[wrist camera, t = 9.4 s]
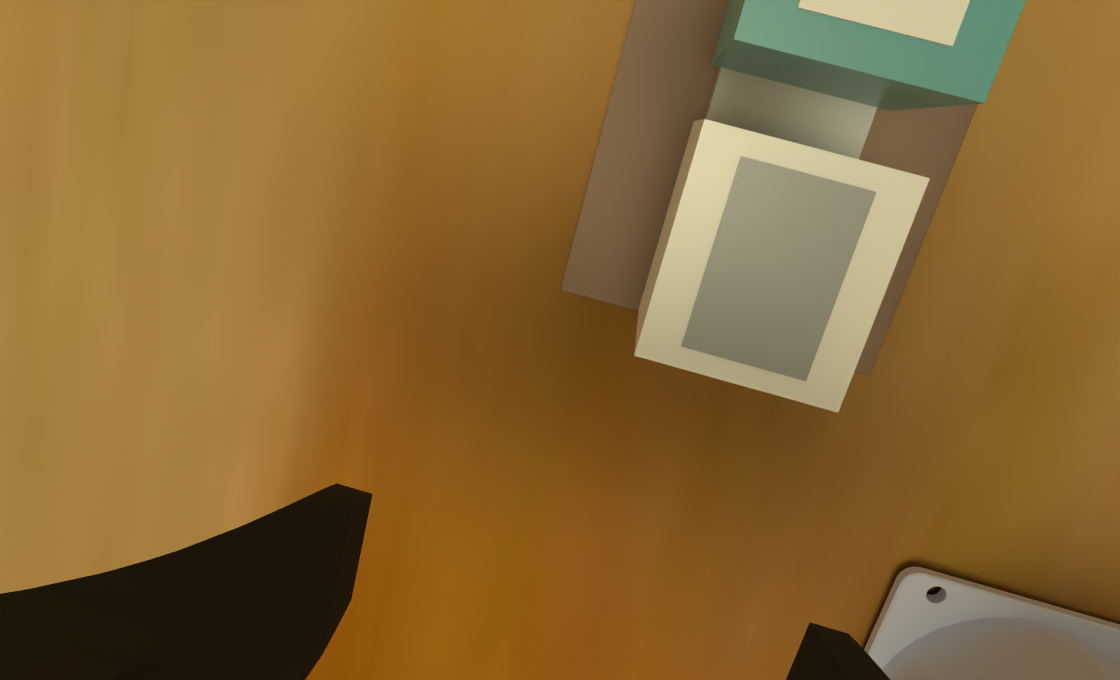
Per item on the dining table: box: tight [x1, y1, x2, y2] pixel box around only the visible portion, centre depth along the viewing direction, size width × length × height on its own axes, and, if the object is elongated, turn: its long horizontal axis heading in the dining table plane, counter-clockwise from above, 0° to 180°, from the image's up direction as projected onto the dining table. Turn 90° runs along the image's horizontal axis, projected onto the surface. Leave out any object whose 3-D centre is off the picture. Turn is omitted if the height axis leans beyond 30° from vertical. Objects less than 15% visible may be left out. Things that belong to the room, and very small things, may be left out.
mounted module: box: [634, 119, 930, 413], centre depth 16 cm, size 4×4×4 cm
